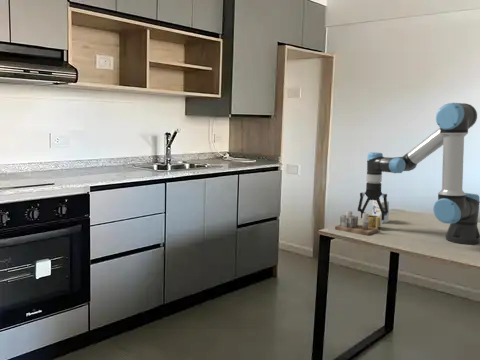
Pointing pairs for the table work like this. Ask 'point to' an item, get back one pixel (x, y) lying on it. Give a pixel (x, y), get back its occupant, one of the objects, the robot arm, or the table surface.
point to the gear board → (355, 224)
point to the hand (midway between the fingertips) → (372, 225)
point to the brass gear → (374, 221)
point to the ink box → (377, 210)
